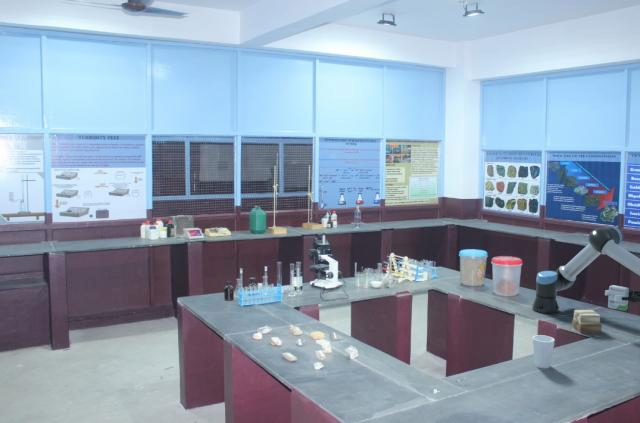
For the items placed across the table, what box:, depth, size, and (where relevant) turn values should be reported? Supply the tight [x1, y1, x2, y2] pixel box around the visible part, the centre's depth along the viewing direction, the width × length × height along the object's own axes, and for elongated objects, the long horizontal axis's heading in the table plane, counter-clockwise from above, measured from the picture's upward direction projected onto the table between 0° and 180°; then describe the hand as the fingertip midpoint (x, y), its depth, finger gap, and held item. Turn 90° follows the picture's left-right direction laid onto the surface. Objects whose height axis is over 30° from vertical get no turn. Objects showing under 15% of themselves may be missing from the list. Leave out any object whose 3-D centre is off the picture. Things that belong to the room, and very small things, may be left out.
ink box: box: [607, 284, 630, 312], centre depth 299 cm, size 9×5×12 cm, turn 43°
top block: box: [573, 309, 601, 325], centre depth 309 cm, size 10×10×5 cm
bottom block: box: [571, 317, 603, 334], centre depth 310 cm, size 11×11×5 cm
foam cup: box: [532, 334, 555, 369], centre depth 261 cm, size 10×9×13 cm
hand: (610, 295), depth 299 cm, fingers closed on ink box, 9 cm apart
